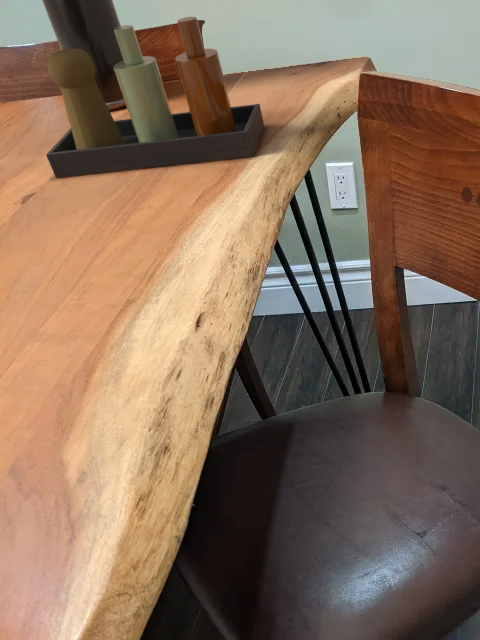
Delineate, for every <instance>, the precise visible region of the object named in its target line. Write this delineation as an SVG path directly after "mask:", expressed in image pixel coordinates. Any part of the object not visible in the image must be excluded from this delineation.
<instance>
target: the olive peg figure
mask: <svg viewBox="0 0 480 640" xmlns="http://www.w3.org/2000/svg"><path fill="white" fill-rule="evenodd" d="M46 63H47V64H46V66H47V71H48V73H49V76H50V77H51V79H52V81H53V82H54V83H55V85H57V86H58V87H59V88H60V92H61V96H62V99H63V103H64V108H65V110H66V111H65V112H66V114H67V118H68V122H69V125H70V129H72V133H73V137H74V140H75V144H76V148H77V150H79V149H88V148H97V147H106V146H114V145H123V144H125V142H124V140H123V138H122V136H121V134H120V132H119V130H118V128H117V126H116V123H115V121H116V120H115V119H114V118H113V115H112V113H111V110H109V109H108V107H107V105H106V103H105V101H104V99H103V97H102V95H101V93H100V91H99V89H98V86H97V84H96V82H95V80H94V76H95V67H94V64H93V61H92V59H91V57H90V56H89V55H88V54H87V53H86V52H85V51H84V50H82V49H65V50H61V49H60V50H58V51H56V52H54V53H52V54H51V55H50V56H49V57H48V59H47V62H46Z"/></svg>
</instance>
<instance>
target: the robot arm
mask: <svg viewBox="0 0 480 640" xmlns="http://www.w3.org/2000/svg"><path fill="white" fill-rule="evenodd" d="M41 1H42V3H43V6H44V8H45V11H46V14H47V17H48V20H49V22H50V25H51V27H52V30H53V32H54V35H55V38H56V41H57V43H58V46H59V49H60V51H61V50H65V49H82V50H84V51H85V52H86V53H87V54H88V55H89V56H90V57H91V59H92V61H93V64H94V67H95V76H94V80H95V82H96V84H97V86H98V89H99V91H100V93H101V95H102V97H103V99H104V101H105V103H106V105H107V107H108V109H109V111H112V110H113V111H114V110H117V109H122V108H125V107H127V106H126V103H125V100H124V97H123V94H122V91H121V88H120V85H119V82H118V79H117V77H116V74H115V71H114V68H113V67H114V65H115V64H117V63H119V62H121V61H124V59H123V56H122V53H121V50H120V47H119V44H118V41H117V38H116V35H115V32H114V29H115V28H117V27H120V26H122V25H121V22H120V19H119V17H118V13H117V10H116V6H115V4H114V1H113V0H41Z"/></svg>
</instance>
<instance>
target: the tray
mask: <svg viewBox="0 0 480 640" xmlns="http://www.w3.org/2000/svg"><path fill="white" fill-rule="evenodd" d="M231 110H232V114H233V118H234V122H235V127H236V131H237V132H229V133H220V134H211V135H202V136H196V132H195V129H194V125H193V122H192V118H191V114H190V111H185V112H177V113H172V115H173V119H174V122H175V125H176V129H177V132H178V135H179V138H176V139H167V140H158V141H150V142H141V143H139V141H138V138H137V135H136V133H135V130H134V127H133V124H132V121H131V118H126V119H118V120H114V121H115V123H116V126H117V128H118V130H119V132H120V134H121V136H122V138H123V140H124V142H125V144H123V145H114V146H106V147H97V148H88V149H79V150H77V148H76V144H75V140H74V137H73V133H72V129H71V128H69V129H68V131H67V132H66V133H64V135H63V136H62V137H61V138H60V139H59V140H58V141H57V142H56V144H54V146H52V148H51V149H50V150H49V151H47V153H46V154H45V156H46V159H47V161H48V164H49V165H50V167H51V168H50V169H51V170H52V172H53V175H54V176H55V179H61V178H69V177H78V176H89V175H96V174H97V175H98V174H107V173H117V172H123V171H125V172H126V171H132V170H141V169H153V168H160V167H170V166H179V165H189V164H197V163H205V162H215V161H223V160H233V159H245V158H250V157H254V156H255V153H256V150H257V147H258V144H259V142H260V139H261V137H262V134H263V131H264V129H265V123H264V120H263V114H262V109H261V104H260V103H253V104H247V105H246V104H245V105H235V106H231Z"/></svg>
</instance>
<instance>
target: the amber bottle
mask: <svg viewBox="0 0 480 640" xmlns="http://www.w3.org/2000/svg"><path fill="white" fill-rule="evenodd" d="M198 21H199V20H198V17H197V16H187V17H181V18H179V19H178V20H177V21H176V22H177V26H178V29H179V33H180V37H181V41H182V45H183V48H184V52H183V53H181V54H179V55H177V56H176V57H175V58H174V61H175V64H176V68H177V72H178V76H179V79H180V82H181V86H182V89H183V90H182V91H183V93H184V96H185V100H186V104H187V107H188V112H190V114H191V118H192V122H193V125H194V129H195V132H196V136H202V135H211V134H220V133H229V132H237V131H236V127H235V122H234V118H233V114H232V110H231V107H232V106H231V102H230V97H229V94H228V91H227V90H228V89H227V86H226V81H225V77H224V73H223V68H222V65H221V61H220V57H219V53H218V52H219V51H218V50H217V49H216V48H205V45H204V41H203V37H202V33H201V30H200V25H199V22H198Z"/></svg>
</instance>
